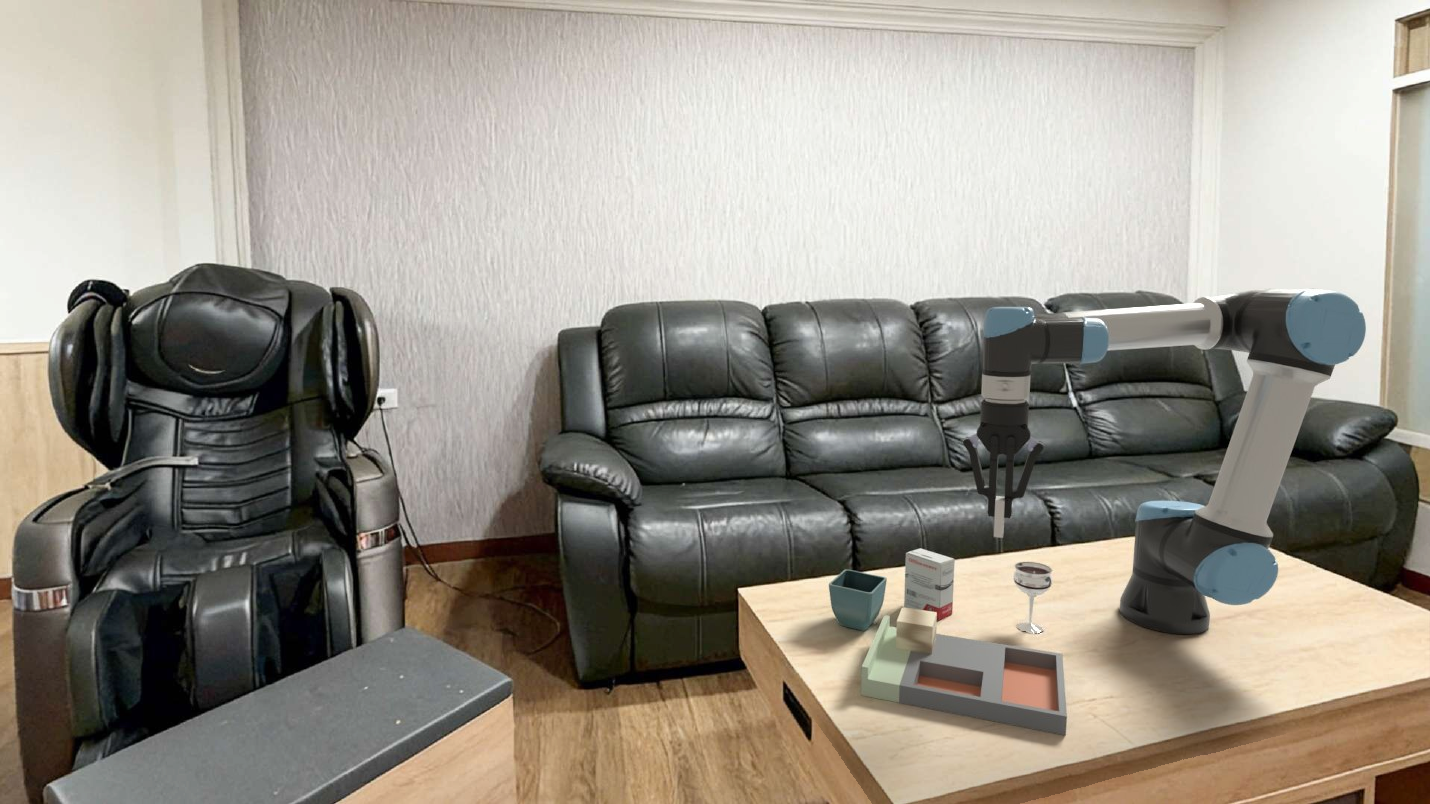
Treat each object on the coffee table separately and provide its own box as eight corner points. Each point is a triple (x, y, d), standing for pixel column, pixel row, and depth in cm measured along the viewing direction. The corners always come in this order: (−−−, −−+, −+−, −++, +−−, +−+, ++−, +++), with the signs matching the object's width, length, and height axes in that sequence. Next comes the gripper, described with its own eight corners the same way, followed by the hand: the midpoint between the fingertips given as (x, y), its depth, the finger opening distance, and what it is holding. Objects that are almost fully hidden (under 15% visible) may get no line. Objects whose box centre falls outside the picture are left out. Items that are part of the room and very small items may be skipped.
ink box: (953, 614, 151) (955, 557, 149) (939, 621, 148) (941, 563, 146) (917, 600, 157) (919, 546, 155) (903, 607, 154) (904, 552, 152)
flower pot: (870, 638, 141) (871, 593, 140) (827, 628, 146) (827, 583, 144) (886, 620, 148) (887, 577, 147) (844, 610, 153) (845, 568, 152)
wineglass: (1054, 627, 145) (1058, 567, 143) (1041, 639, 140) (1045, 578, 138) (1018, 616, 149) (1021, 558, 147) (1005, 628, 144) (1008, 569, 142)
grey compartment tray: (1061, 670, 129) (1063, 642, 128) (1065, 735, 111) (1067, 704, 110) (883, 640, 140) (884, 615, 139) (861, 695, 122) (861, 666, 121)
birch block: (935, 638, 134) (936, 612, 133) (931, 654, 129) (932, 626, 128) (901, 633, 137) (902, 607, 136) (896, 648, 131) (896, 621, 130)
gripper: (962, 401, 126) (957, 537, 129) (1047, 405, 121) (1039, 546, 124) (965, 394, 132) (960, 524, 136) (1047, 398, 127) (1039, 532, 131)
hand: (998, 534), depth 130 cm, fingers closed
